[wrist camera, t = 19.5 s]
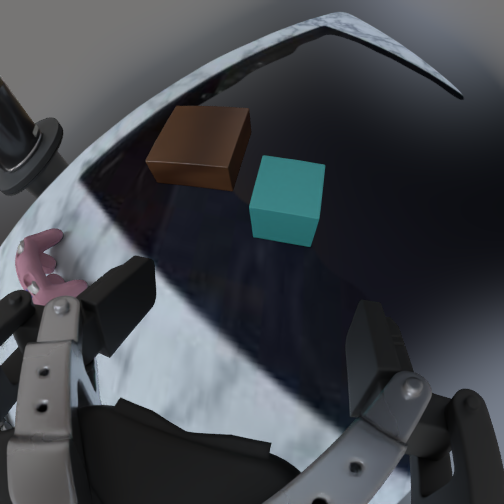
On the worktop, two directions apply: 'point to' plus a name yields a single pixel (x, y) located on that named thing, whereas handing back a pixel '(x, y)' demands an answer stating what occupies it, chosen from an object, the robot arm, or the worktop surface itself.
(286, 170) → the square toy
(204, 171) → the brown block
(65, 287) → the video game controller
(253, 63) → the worktop surface
